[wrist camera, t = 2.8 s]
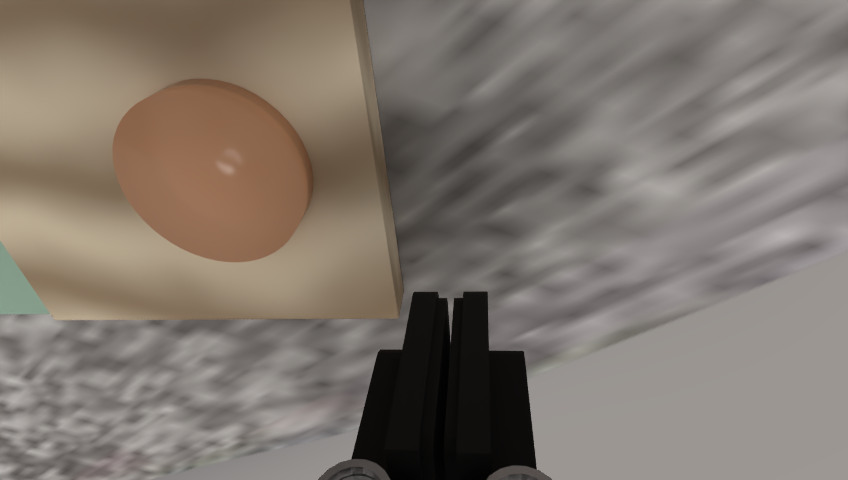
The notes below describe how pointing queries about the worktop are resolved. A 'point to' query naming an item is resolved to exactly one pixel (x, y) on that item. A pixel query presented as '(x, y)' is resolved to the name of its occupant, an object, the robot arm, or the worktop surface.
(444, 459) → the robot arm
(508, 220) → the worktop surface
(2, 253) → the mat
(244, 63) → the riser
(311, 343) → the worktop surface
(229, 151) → the brown round disc
